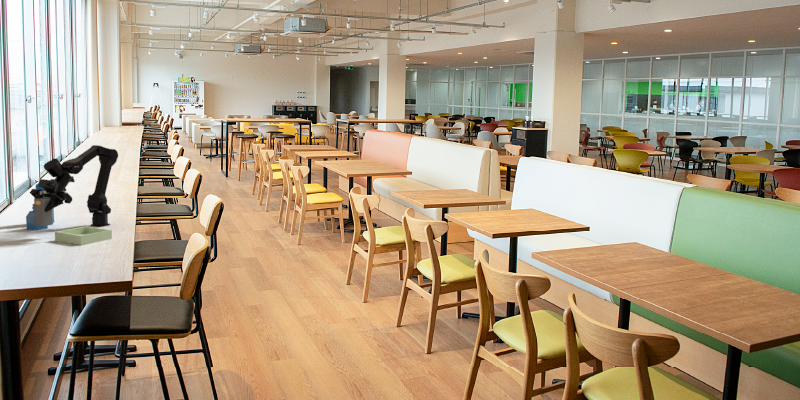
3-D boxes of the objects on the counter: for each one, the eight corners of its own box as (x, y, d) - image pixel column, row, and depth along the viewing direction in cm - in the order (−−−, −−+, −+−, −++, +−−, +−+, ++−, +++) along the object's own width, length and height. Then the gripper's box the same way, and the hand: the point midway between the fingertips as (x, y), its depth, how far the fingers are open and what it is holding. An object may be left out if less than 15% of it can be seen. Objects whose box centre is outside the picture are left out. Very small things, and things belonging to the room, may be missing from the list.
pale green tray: (86, 234, 279) (86, 226, 278) (111, 238, 273) (111, 230, 272) (55, 240, 264) (54, 231, 263) (81, 245, 258) (80, 236, 257)
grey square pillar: (44, 223, 270) (43, 197, 269) (52, 224, 269) (51, 198, 268) (34, 225, 265) (33, 198, 264) (43, 226, 264) (41, 199, 262)
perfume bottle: (47, 228, 289) (46, 203, 287) (36, 230, 283) (35, 205, 281) (38, 227, 291) (37, 202, 289) (26, 229, 285) (25, 204, 283)
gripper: (32, 171, 270) (12, 198, 261) (66, 173, 266) (47, 201, 257) (47, 186, 279) (28, 213, 270) (80, 189, 274) (62, 216, 265)
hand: (40, 210), depth 265 cm, fingers closed on grey square pillar, 4 cm apart
